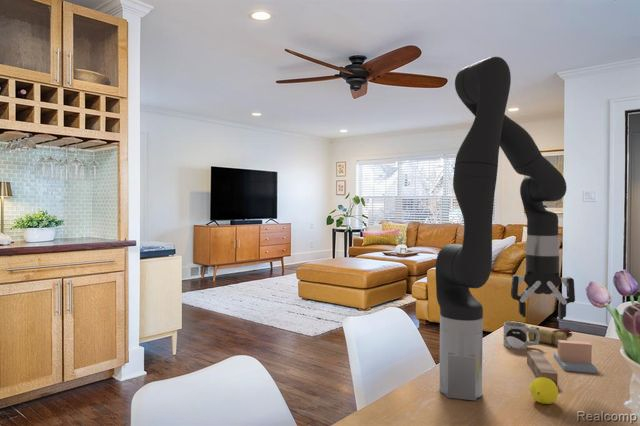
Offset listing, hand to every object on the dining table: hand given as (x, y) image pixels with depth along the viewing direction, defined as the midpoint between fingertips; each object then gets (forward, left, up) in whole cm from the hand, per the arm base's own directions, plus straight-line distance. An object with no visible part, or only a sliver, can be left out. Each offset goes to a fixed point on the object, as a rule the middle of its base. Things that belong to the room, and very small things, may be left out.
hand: (542, 317), depth 113 cm
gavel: (+36, -12, -15) cm, 41 cm away
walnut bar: (0, 0, -15) cm, 15 cm away
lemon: (-18, +3, -15) cm, 23 cm away
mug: (+23, +1, -15) cm, 27 cm away
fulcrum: (+10, -10, -14) cm, 20 cm away
